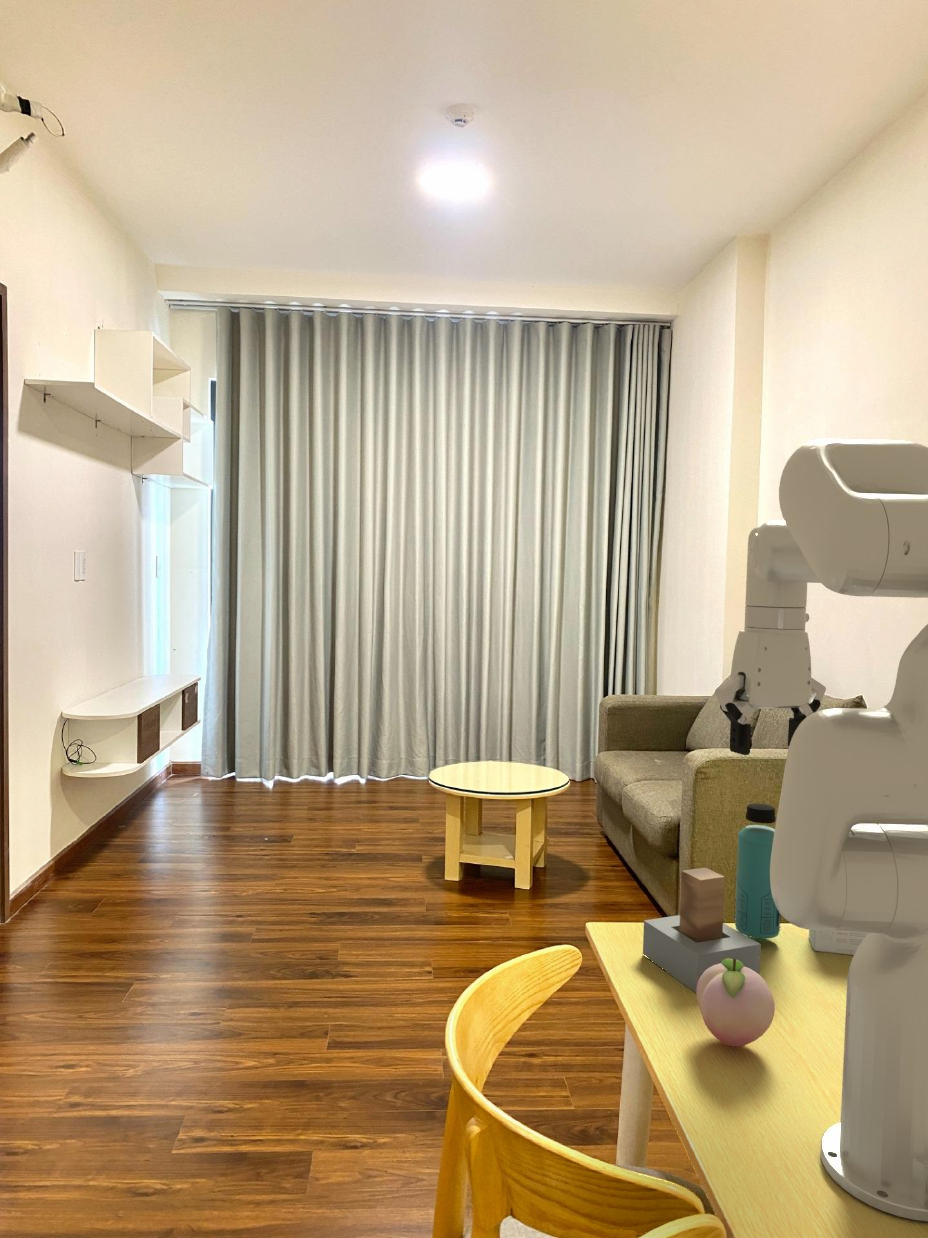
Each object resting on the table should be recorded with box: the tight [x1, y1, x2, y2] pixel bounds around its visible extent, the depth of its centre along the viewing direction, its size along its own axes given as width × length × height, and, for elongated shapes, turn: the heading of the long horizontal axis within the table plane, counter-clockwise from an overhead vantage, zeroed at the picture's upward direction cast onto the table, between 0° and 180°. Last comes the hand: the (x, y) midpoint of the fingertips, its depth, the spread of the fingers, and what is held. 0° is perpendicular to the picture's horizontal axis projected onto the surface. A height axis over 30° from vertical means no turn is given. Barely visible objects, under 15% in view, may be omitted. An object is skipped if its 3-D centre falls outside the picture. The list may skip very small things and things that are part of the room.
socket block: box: [642, 914, 761, 994], centre depth 122 cm, size 12×10×5 cm
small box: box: [808, 930, 867, 956], centre depth 130 cm, size 8×6×10 cm
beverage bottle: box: [733, 802, 782, 940], centre depth 132 cm, size 6×7×20 cm
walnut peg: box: [679, 867, 726, 943], centre depth 122 cm, size 4×4×12 cm
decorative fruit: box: [696, 958, 776, 1047], centre depth 102 cm, size 9×8×10 cm
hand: (769, 751), depth 118 cm, fingers open, 9 cm apart
